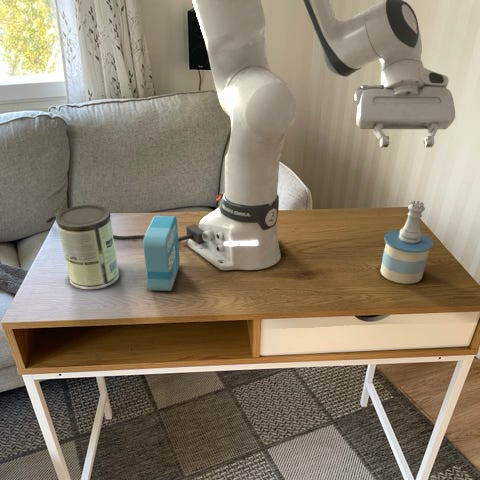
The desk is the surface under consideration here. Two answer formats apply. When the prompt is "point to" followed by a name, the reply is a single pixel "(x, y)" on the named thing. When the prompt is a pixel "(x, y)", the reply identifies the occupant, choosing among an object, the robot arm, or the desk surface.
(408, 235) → the rook chess piece
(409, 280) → the yogurt tub
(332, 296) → the desk surface
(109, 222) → the coffee can
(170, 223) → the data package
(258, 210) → the robot arm
